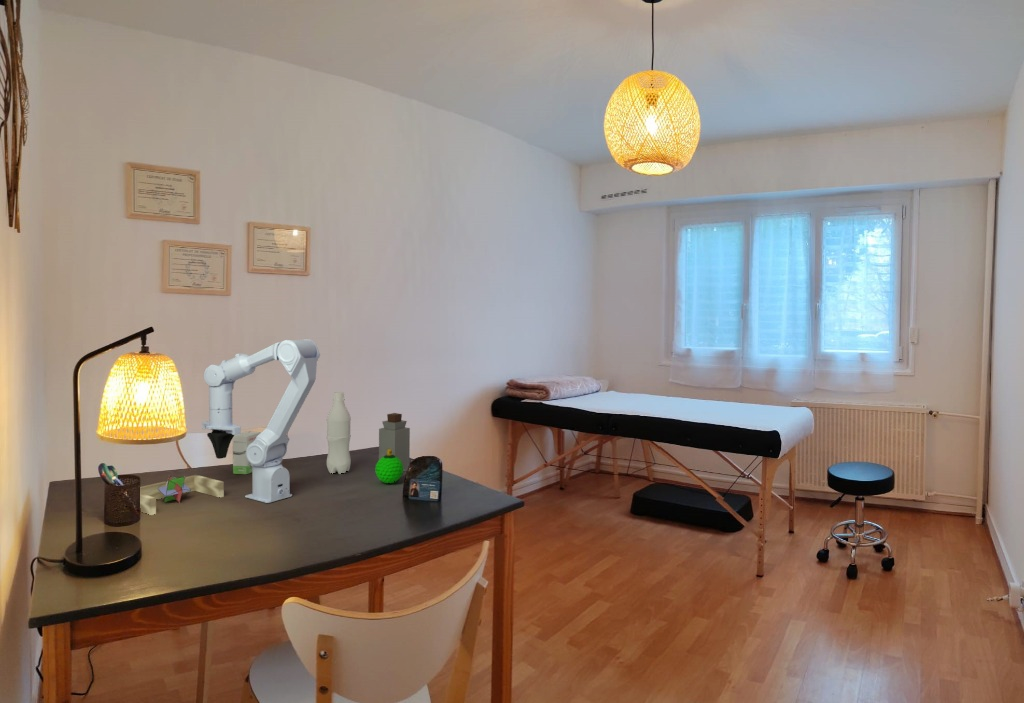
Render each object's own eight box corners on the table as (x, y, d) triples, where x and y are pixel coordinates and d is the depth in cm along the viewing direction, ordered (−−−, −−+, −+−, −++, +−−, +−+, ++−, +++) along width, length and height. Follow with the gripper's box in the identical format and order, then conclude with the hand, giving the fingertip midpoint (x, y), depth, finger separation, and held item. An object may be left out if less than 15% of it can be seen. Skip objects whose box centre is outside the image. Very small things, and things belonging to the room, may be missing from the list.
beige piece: (223, 496, 168) (223, 481, 168) (151, 515, 152) (150, 499, 151) (196, 488, 175) (195, 474, 174) (123, 506, 158) (123, 490, 158)
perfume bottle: (409, 469, 200) (409, 413, 199) (394, 474, 195) (395, 416, 194) (393, 466, 204) (393, 411, 203) (378, 471, 198) (379, 414, 197)
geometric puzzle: (198, 493, 163) (188, 466, 165) (172, 499, 157) (161, 471, 160) (186, 506, 166) (176, 479, 169) (160, 512, 161) (149, 485, 163)
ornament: (390, 488, 179) (390, 453, 178) (369, 484, 183) (369, 450, 182) (409, 482, 186) (409, 448, 185) (388, 478, 190) (388, 445, 189)
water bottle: (326, 470, 198) (326, 391, 196) (349, 469, 200) (350, 390, 198) (326, 476, 191) (327, 394, 189) (351, 474, 193) (351, 393, 191)
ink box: (247, 474, 191) (247, 436, 190) (232, 474, 191) (231, 435, 190) (262, 468, 199) (261, 431, 198) (247, 467, 200) (247, 430, 199)
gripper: (191, 407, 172) (191, 456, 172) (223, 412, 164) (224, 464, 165) (215, 404, 178) (215, 452, 178) (247, 409, 170) (247, 459, 171)
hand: (221, 457), depth 172 cm, fingers closed
